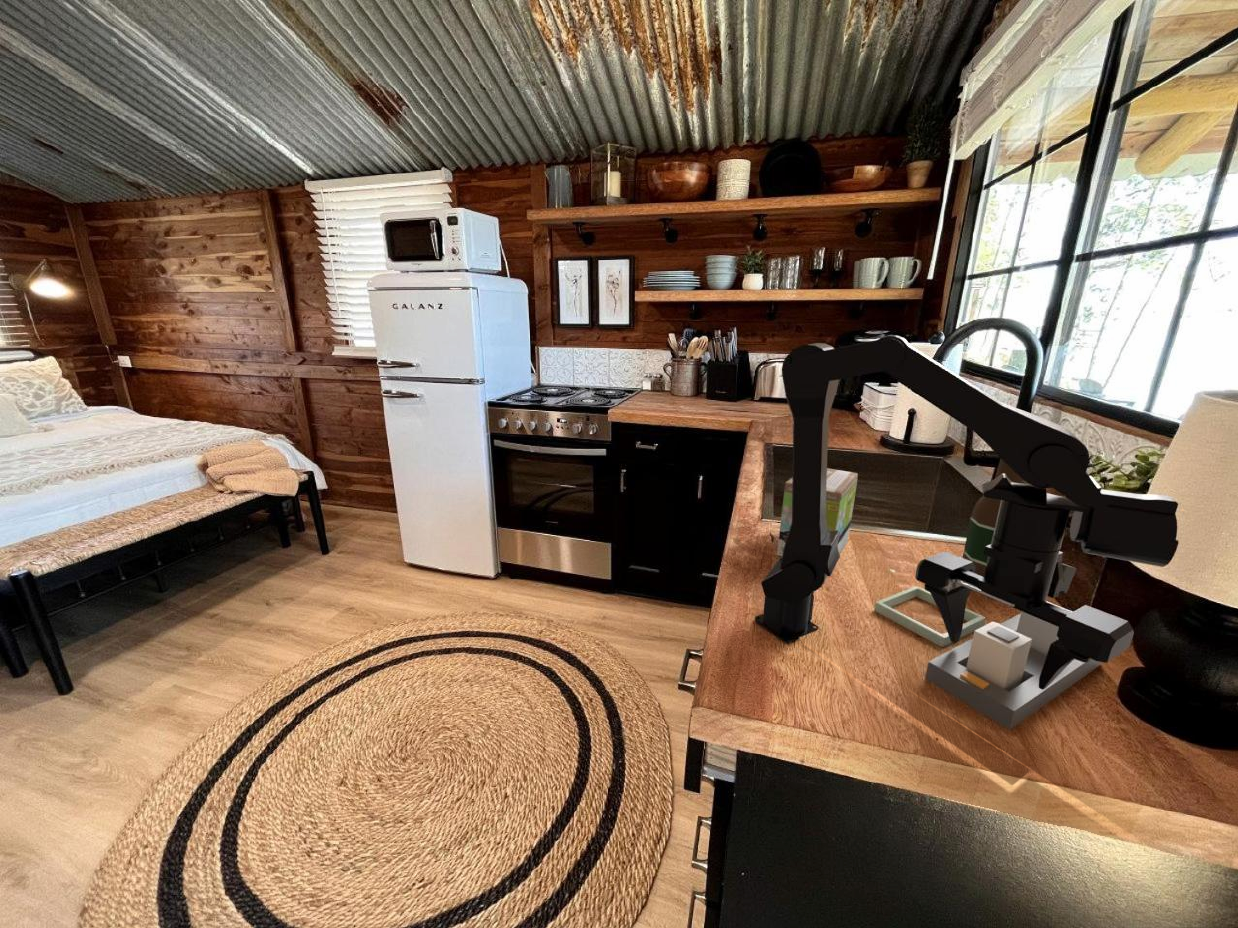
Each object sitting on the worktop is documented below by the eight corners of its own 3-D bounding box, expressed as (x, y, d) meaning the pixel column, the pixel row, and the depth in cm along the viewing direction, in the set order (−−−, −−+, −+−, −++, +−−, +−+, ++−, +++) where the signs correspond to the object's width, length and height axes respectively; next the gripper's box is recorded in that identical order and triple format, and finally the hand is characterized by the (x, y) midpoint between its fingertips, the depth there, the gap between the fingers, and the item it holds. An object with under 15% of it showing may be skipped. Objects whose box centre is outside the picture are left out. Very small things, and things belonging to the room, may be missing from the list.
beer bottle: (1015, 580, 84) (1048, 442, 78) (1015, 600, 78) (1051, 452, 72) (960, 567, 89) (987, 436, 82) (957, 585, 83) (985, 445, 76)
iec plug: (1000, 702, 57) (1014, 648, 55) (963, 680, 60) (974, 629, 58) (1018, 690, 58) (1032, 637, 56) (981, 670, 62) (993, 619, 60)
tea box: (831, 571, 88) (842, 492, 84) (775, 556, 93) (782, 481, 89) (849, 541, 99) (859, 470, 95) (798, 530, 105) (805, 462, 101)
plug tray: (941, 651, 66) (944, 637, 66) (873, 613, 75) (875, 602, 74) (982, 629, 71) (985, 617, 70) (914, 596, 79) (916, 585, 79)
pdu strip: (1008, 734, 53) (1014, 708, 52) (924, 682, 61) (928, 659, 60) (1109, 660, 64) (1116, 638, 63) (1028, 625, 72) (1033, 604, 71)
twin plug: (1047, 671, 61) (1062, 620, 59) (1011, 653, 65) (1023, 604, 63) (1063, 661, 63) (1077, 611, 61) (1026, 644, 67) (1038, 596, 65)
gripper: (1175, 559, 50) (1131, 689, 54) (974, 502, 65) (952, 606, 70) (1129, 586, 45) (1084, 728, 49) (923, 517, 60) (903, 628, 65)
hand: (995, 663), depth 58 cm, fingers open, 9 cm apart
